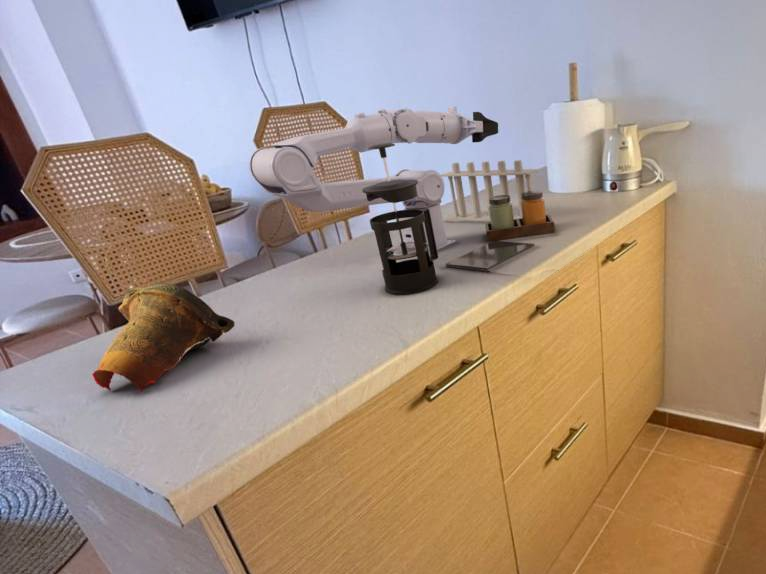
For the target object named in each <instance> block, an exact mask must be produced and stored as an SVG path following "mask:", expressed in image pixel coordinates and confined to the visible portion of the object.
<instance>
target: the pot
mask: <svg viewBox="0 0 766 574" xmlns="http://www.w3.org/2000/svg"><path fill="white" fill-rule="evenodd" d="M117 309H118V311H119V312H120V313H121V314H122V316H123V317H124V318H125V319H126V320H127V321H128V322H127V323H126V325H125V326H123V328H122V329H121V330H120V331H119V332H118V333H117V334H116V335H115V337H114V338H113V340H112V341H111V343H110V345H109V346H108V348H106V349H107V350H106V351H105V352H104V354H103V356H102V357H101V361H100V362H99V365H98V368H97V370H93V373H92V376H93V379H94V381H95V383H96V384H97V385H98V386H99V387H101V388H102V389H105V388H106V389H107V390H108V391H110V392H111V391H112V388H111V387H110V384H111V383H112V379H113V376H114V375H119V376H122V377H124V378H125V379H126V380H128V381H130V382H131V383H132V384H133V385H135V386H136V388H137V390H139V391H140V393H142V392H143V391H144V390H143V389H145V388H146V386H148V385H149V384H156V382H157V379H159V378H160V377H161V376H162V375H163V374H164V373H165V372H166V371H169V370H171V369H173V368H174V367H176V365H177V364H178V363H180V362H181V359H182V358H183V357H184V355H185V354H186V353H188V352H190V351H192V350H195V349H198V348H203V347H204V346H206V345H207V344H208V343H209V342H210V341H211V342H212V343H215V342H217V340H218V339H220V337H222V336H223V335H224V334H227V333H229V332H230V331H232V330H233V329H234V328H235V322H236V321H234V320H233V319H231V318H229V317H226V316H224V315H219V314H218V313H216V312H215V311H214V310H213V309H212V307H211V306H210V305H209V304H207V303H206V302H205V301H204V300H203V299H201V298H200V297H198V296H197V295H196V294H194V293H193V292H191V291H190V290H188V289H186V288H184V287H183V286H179V285H177V284H171V283H154V284H149V285H147V286H146V287H142V286H137V287H132V288H130V289H128V290H126V292H125V295H124V297H123V299H122V304H120V305H119V306H118V308H117Z"/></svg>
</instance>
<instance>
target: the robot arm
mask: <svg viewBox="0 0 766 574" xmlns="http://www.w3.org/2000/svg"><path fill="white" fill-rule="evenodd" d="M497 134H499V123H498V122H497V121H496V120H492V119H490V118H488V117H486V116H485V115H484V114H483V113H482V112H480V111H472V118H469V117H467V116H465V115H464V114H461V113H460V112H458V109H457V106H456V105H450V106H448V107H447V111H430V110H412V109H410V108H408V107H405V108H400V109H391V110H390V109H389V110H386V109H385V108H383V109H379V110H377V112H376V113H372V114H367V115H366V113H365V112H358V113H354V117H351V118H350V119H348V121H347V122H346V125H345V127H344V128H339V129H334V130H328V131H322V132H316V133H309V134H304V135H299V136H294V137H291V138H287V139H284V140H280V141H278V142H275V143H273V144H270V147H260V148H257V149H255V150H254V151H253V152H252V154H251V155H250V156H249V161H248V169H249V173H250V175H251V176H252V178H253V179H254V180H255V182H256V183H257V184H258V185H259V186H261V188H262V189H263V190H264V191H265V192H266V193H268V194H271V195H273V196H277V197H279V198H280V199H283V200H285V201H286V202H289V203H290V204H292V205H294V206H296V207H298V208H300V209H302V210H304V211H306V212H313V213H322V212H328V211H337V210H344V209H353V208H361V207H367V206H374V205H375V206H376V205H382V204H389V203H390V202H388V201H385V200H384V199H382V198H377V199H374V200H372V201H368V200H367V196H366V193H363V192H362V189H364V188H365V187H368V186H371V185H375V184H377V183H381V182H385V181H388V179H387V176H386V177H374V178H365V179H354V180H345V181H344V180H343V181H332V182H323V183H322V182H321V181H320V180H319V179H318V178H317V175H316V174H315V171H314V170H313V168H315V167H316V165H317V161H318V157H320V156H324V155H327V154H331V153H334V152H335V153H336V152H339V151H341V150H345V149H349V148H351V149H353V150H355V152H357V153H359V154H360V153H365V152H368V151H371V150H369V149H368V148H369V147H371V146H373V145H377V144H382V143H393V144H412V143H416V144H451V145H457V144H460V143H461V142H463V141H464V140H466V139H467V138H469V137H471V140H472V141H471V142H472V143H480V142H481V143H482V142H483V141H484V140H485V139H486V138H488V137H491V136H494V135H497ZM271 147H272V148H271ZM374 150H375V149H373V150H372V151H374ZM389 177H390V181H391V180H417V181H418V184H417V185H416V189H417V194H418V196H417V197H415V198H413V199H410V200H406V201H402V202H401V203H402V206H403V207H404V209H403V210H409V209H421V208H425V209H429V211H430V216H431V221H432V226H433V232H434V237H435V242H436V248H437V250H440V249H442V248H444V247H446V246H449V245H451V244H453V243H455V242H456V240H454V239H447V235H446V230H445V229H446V228H445V224H444V219H443V213H442V212H443V211H442V207H441V203H442V199H443V196H444V194H445V181H444V178H443V177H441V174H440V173H439V172H438V171H437V170H434V169H428V170H427V169H426V170H414V169H413V170H410V169H401V170H399V171H398V172H397V173H395V174H393V175H389ZM390 204H391V203H390ZM410 218H414V217H409V218H400V219H399V221H402V220H407V219H410ZM395 222H397V220H396V219H395ZM423 226H424V231H425V236H426V241H427V244H428V240H427V235H426V229H425V224H424V222H423ZM401 232H402V237H403V241H404V242H405V243H411V242H414V239H413V234H412V230H411V227H410V228H406V229H401ZM397 234H398V235H397V236H398V240H399V244H400V243H401V238H400V233H399V230H397ZM428 251H429V254H430V250H429V246H428Z"/></svg>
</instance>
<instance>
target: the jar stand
mask: <svg viewBox="0 0 766 574" xmlns="http://www.w3.org/2000/svg"><path fill="white" fill-rule="evenodd" d="M484 224H485V225H484V227H485V233H486V241H487V243H491V242H493V241H508V240H514V239H522V238H529V237H535V236H542V235H550V234H551V235H552V234H555V233H556V229H555V221H554V220H553V218H552V216H551V214H549V213H548V214H546V222H545V223H538V224H531V225H524V226H523V219H522V218H520V219H514V224H515V227H510V228H503V229H496V230H492V228H491V222H485V223H484Z"/></svg>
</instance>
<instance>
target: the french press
mask: <svg viewBox="0 0 766 574" xmlns="http://www.w3.org/2000/svg"><path fill="white" fill-rule="evenodd" d="M395 146H396V143H382V144H377V145H373V146H371V147H369V148H368V149H369V150H370V151H374V150H378V151H379V155H380V159H382V160H383V165H384V170H385V174H386V177H387V179H388V181H385V182H381V183H377V184H375V185H371V186H368V187H365V188H364V189H362V192H363V193H366V196H367V200H368V201H372V200H374V199H377V198H382V199H384V200H385V201H388V202H390V204H392V207H393V211H389V212H385V213H381V214H378V215H375V216H373V217H371V218H370V219H369V224H370V229H371V230H372V231H373V232H374V235H375V240H376V245H377V248H378V252H379V253H378V254H379V257H380V260H381V265H382V268H383V269H382V270H381V274H382V277H383V282H384V291H385V293H387V294H388V295H389V294H390V295H392V296H393V295H394V296H407V295H413V294H418V293H422V292H425V291H428V290H430V289H432V288H433V287H435V286H437V285H438V283H439V277H438V276H437V273H436V268H435V263H434V261H436V260H438V259H439V253H438V249H437V248H436V242H435V237H434V232H433V226H432V221H431V216H430V211H429V209H425V208H421V209H409V210H404V209H401V210H398V209H397V206H396V204H398V203H402V201H406V200H410V199H413V198H415V197H417V196H418V194H417V189H416V185H417V184H418V181H417V180H391V181H390V177H389V176H390V173H389V168H388V164H387V159H386V158H387V157H388V156H387V150H386V148H391V147H395ZM373 149H374V150H373ZM409 217H414V218H410V219H407V220H402V221H399V219H400V218H409ZM393 220H395V221H393ZM396 220H397V222H396ZM390 221H391V222H390ZM423 222H424V224H425V229H426V235H427V240H428V244H427V241H426V236H425V231H424V226H423ZM410 227H411V230H412V234H413V239H414V242H411V243H405V242H404V241H403V237H402V232H401V229H406V228H410ZM398 230H399V233H400V238H401V243H400V242H399V243H398V244H395V245H393V241H392V237H391V233H390V232H393V231H398ZM428 246H429V250H430V253H429V251H428Z"/></svg>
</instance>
